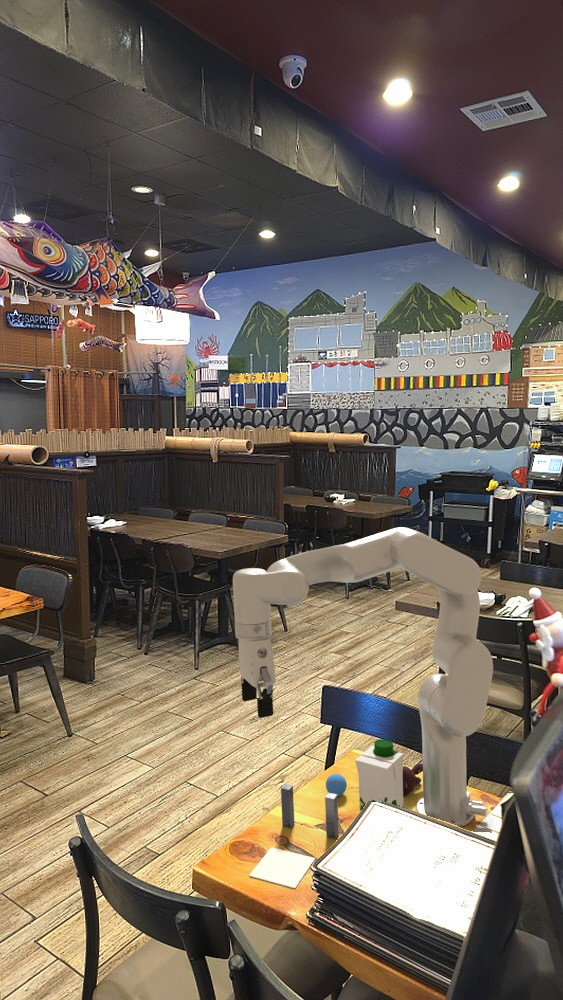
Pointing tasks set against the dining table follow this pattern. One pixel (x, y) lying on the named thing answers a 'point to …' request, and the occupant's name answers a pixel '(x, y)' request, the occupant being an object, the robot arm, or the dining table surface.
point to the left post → (287, 806)
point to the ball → (336, 784)
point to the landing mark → (282, 867)
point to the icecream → (411, 778)
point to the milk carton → (380, 774)
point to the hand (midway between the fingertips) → (257, 707)
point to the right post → (331, 815)
